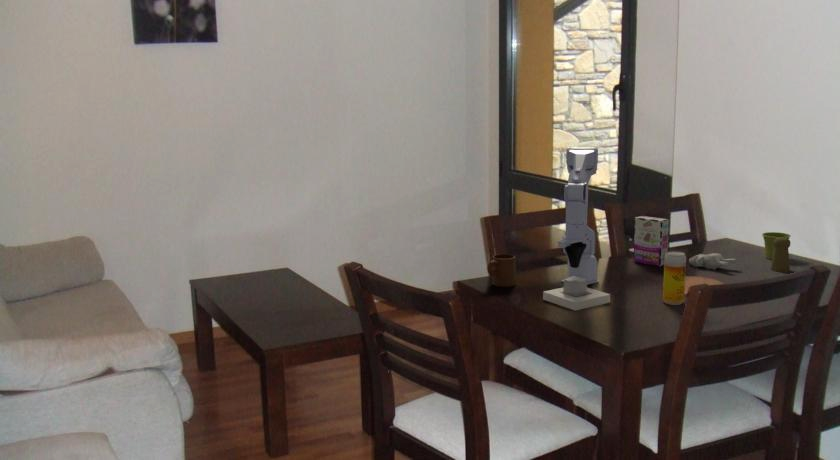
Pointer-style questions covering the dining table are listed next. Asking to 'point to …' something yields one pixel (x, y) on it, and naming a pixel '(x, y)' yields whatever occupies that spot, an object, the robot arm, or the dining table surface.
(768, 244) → the plant pot
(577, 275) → the robot arm
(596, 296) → the socket
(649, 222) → the candy bar box
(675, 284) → the yellow supplement bottle
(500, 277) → the mug
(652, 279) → the dining table surface
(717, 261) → the bunny figurine
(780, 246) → the olive tall rounded piece
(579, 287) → the plug
